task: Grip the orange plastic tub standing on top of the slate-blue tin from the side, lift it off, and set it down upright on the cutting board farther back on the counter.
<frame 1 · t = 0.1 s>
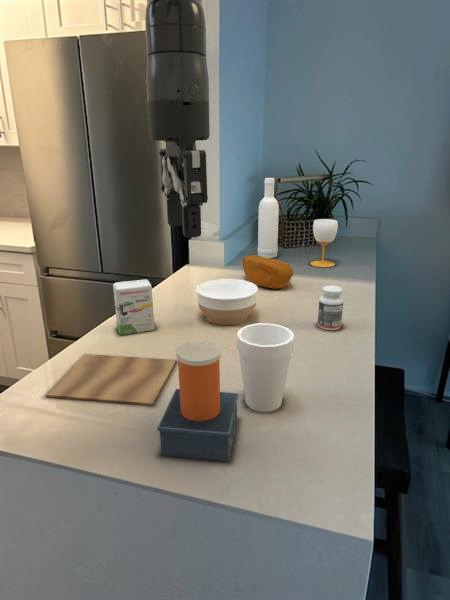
hand: (183, 230, 58), 32 cm above the counter, tool pointing down, fingers open, 8 cm apart
tub: (200, 409, 65), point 5 cm above the counter, touching tin
cup: (322, 264, 160), on the counter
cutting board: (115, 378, 84), on the counter
ink box: (136, 330, 106), on the counter
pill bottle: (329, 327, 106), on the counter
bowl: (227, 317, 113), on the counter
bread: (267, 282, 140), on the counter
bottle: (267, 256, 172), on the counter
tin: (201, 436, 67), on the counter, touching tub
foam cup: (263, 402, 76), on the counter
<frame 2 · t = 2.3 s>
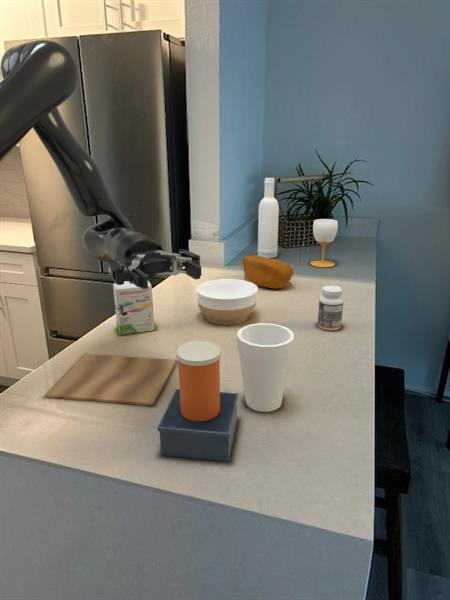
hand: (173, 277, 64), 24 cm above the counter, tool horizontal, fingers open, 8 cm apart
nothing on the counter moved.
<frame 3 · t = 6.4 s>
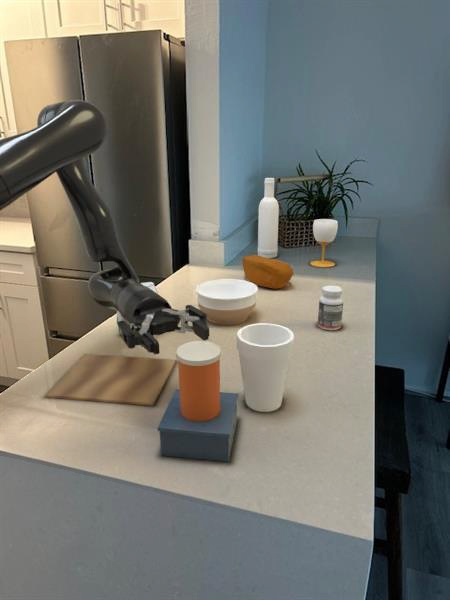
hand: (182, 341, 67), 14 cm above the counter, tool horizontal, fingers open, 8 cm apart
ink box: (136, 326, 105), point 1 cm above the counter, touching arm
everything else where it was.
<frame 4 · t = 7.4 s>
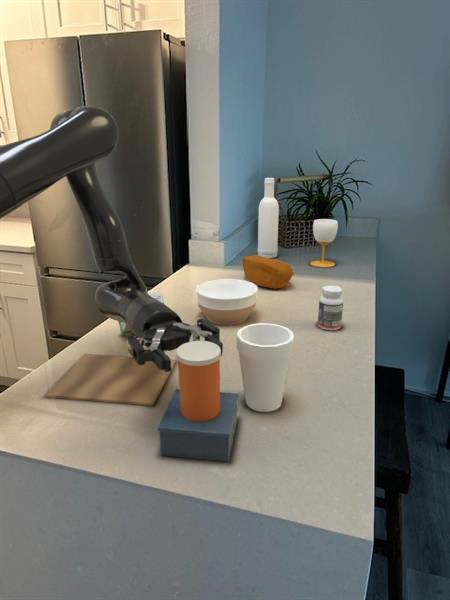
hand: (195, 358, 63), 13 cm above the counter, tool horizontal, fingers open, 8 cm apart
ink box: (136, 323, 104), point 2 cm above the counter, touching arm
everything else where it was.
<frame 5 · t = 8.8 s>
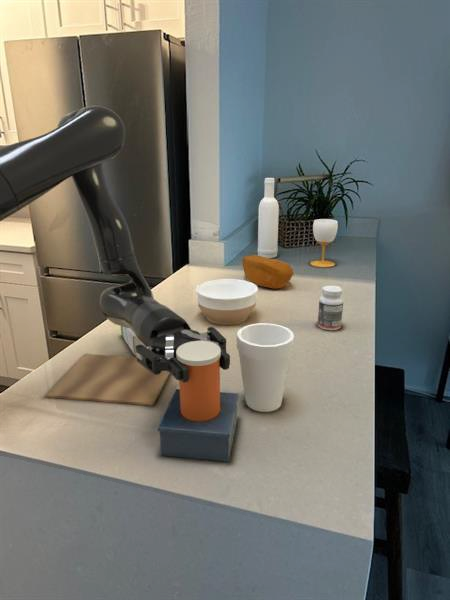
hand: (207, 369, 61), 13 cm above the counter, tool horizontal, fingers closed on tub, 6 cm apart
tub: (200, 409, 65), point 5 cm above the counter, touching gripper, tin
ink box: (137, 323, 103), point 2 cm above the counter
everything else where it was.
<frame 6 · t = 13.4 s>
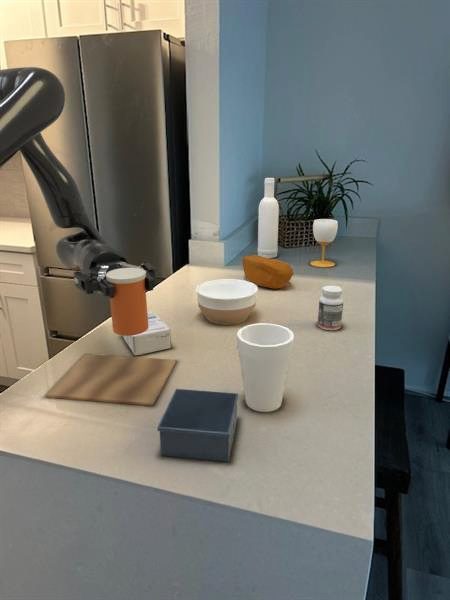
hand: (131, 288, 70), 21 cm above the counter, tool horizontal, fingers closed on tub, 6 cm apart
tub: (130, 328, 74), point 13 cm above the counter, touching gripper
tin: (201, 436, 67), on the counter
everything else where it was.
when the fingers open (9 cm above the counter, at t = 18.3 s): tub stays where it is, resting on cutting board.
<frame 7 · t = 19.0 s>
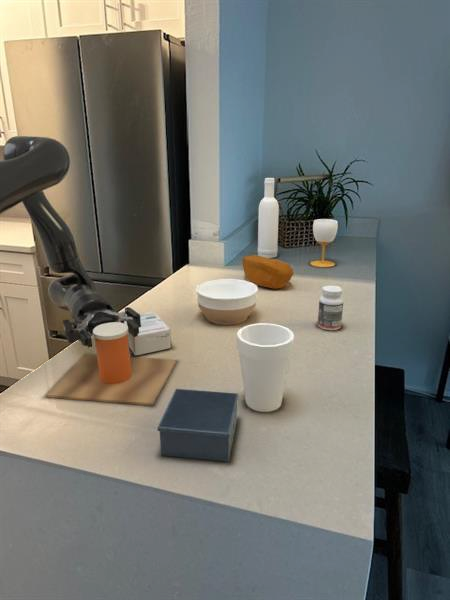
hand: (113, 337, 79), 10 cm above the counter, tool horizontal, fingers open, 8 cm apart
tub: (115, 375, 84), resting on cutting board
everything else where it was.
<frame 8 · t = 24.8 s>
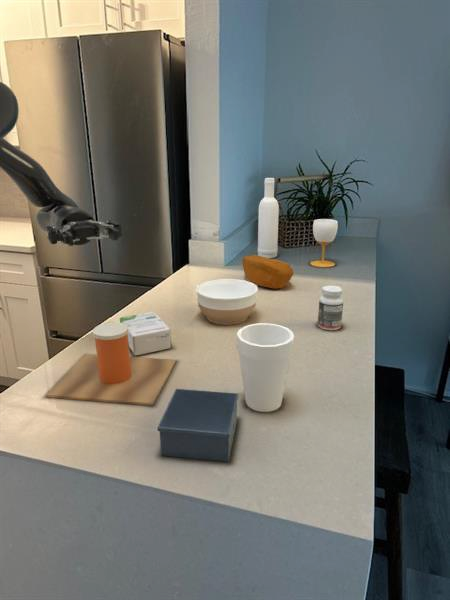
hand: (94, 237, 82), 26 cm above the counter, tool horizontal, fingers open, 8 cm apart
nothing on the counter moved.
at the end: tub inside the target area on the cutting board (0.1 cm from its centre), point 0.5 cm above the cutting board's base; tub tilted 0°; tin moved 0.0 cm from its start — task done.
